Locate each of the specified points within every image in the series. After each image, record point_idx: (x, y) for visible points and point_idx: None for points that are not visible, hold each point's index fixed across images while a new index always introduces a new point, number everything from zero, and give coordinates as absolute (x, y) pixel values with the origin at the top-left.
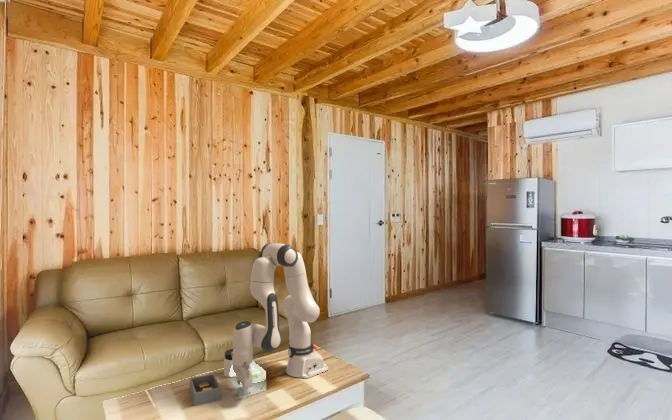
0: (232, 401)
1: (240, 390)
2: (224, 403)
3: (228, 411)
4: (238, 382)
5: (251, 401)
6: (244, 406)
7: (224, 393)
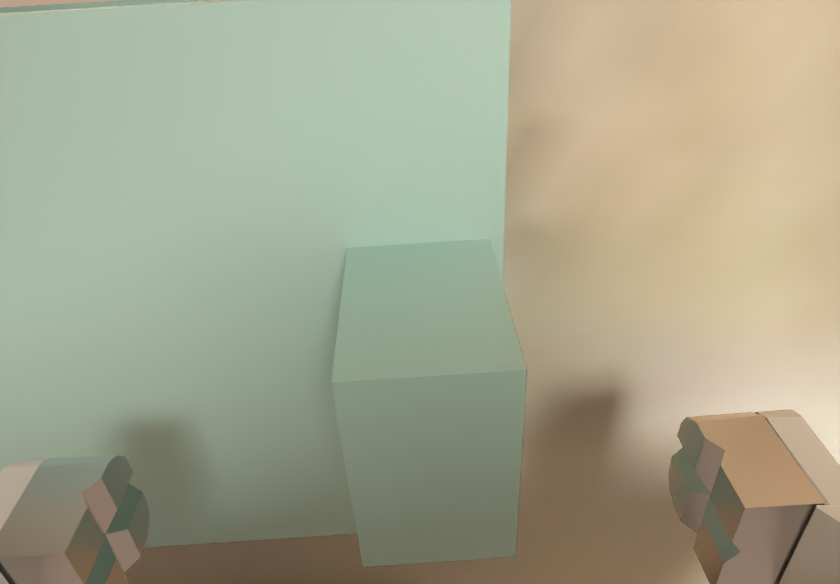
0: (528, 484)
1: (513, 510)
2: (519, 568)
3: None
4: (123, 567)
5: (773, 190)
6: (837, 351)
7: (198, 548)
